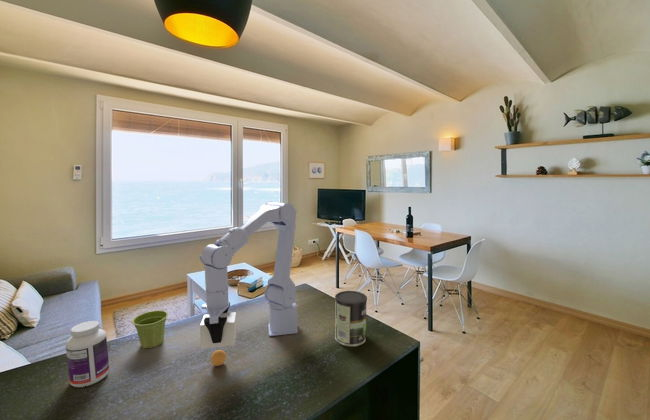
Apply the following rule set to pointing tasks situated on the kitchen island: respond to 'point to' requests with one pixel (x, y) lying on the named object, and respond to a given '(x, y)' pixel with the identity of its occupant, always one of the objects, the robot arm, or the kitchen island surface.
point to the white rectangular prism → (228, 332)
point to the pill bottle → (87, 354)
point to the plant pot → (150, 328)
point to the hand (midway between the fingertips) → (218, 335)
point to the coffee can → (350, 318)
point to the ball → (218, 357)
